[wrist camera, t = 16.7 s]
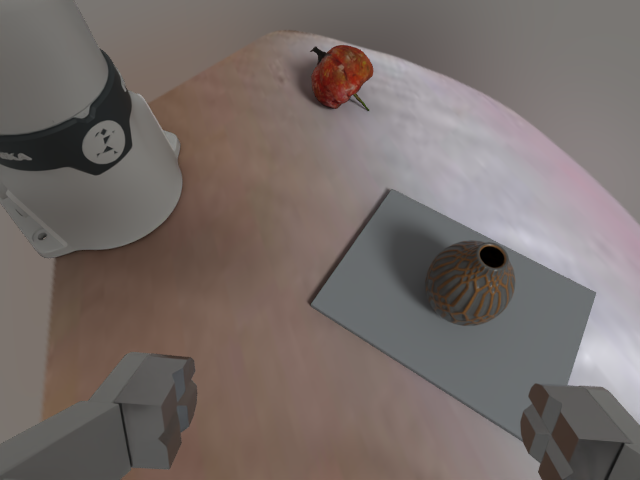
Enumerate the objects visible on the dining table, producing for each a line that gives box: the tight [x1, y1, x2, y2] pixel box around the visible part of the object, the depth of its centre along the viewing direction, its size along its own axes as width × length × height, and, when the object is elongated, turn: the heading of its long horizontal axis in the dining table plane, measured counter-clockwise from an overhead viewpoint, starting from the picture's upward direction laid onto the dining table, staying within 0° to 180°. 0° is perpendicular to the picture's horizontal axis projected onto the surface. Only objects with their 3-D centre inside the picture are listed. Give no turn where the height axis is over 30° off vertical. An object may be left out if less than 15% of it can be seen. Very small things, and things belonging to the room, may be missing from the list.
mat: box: [311, 189, 596, 442], centre depth 36 cm, size 22×16×1 cm
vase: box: [425, 240, 515, 326], centre depth 32 cm, size 7×7×9 cm
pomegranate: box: [310, 45, 373, 111], centre depth 47 cm, size 7×7×10 cm
